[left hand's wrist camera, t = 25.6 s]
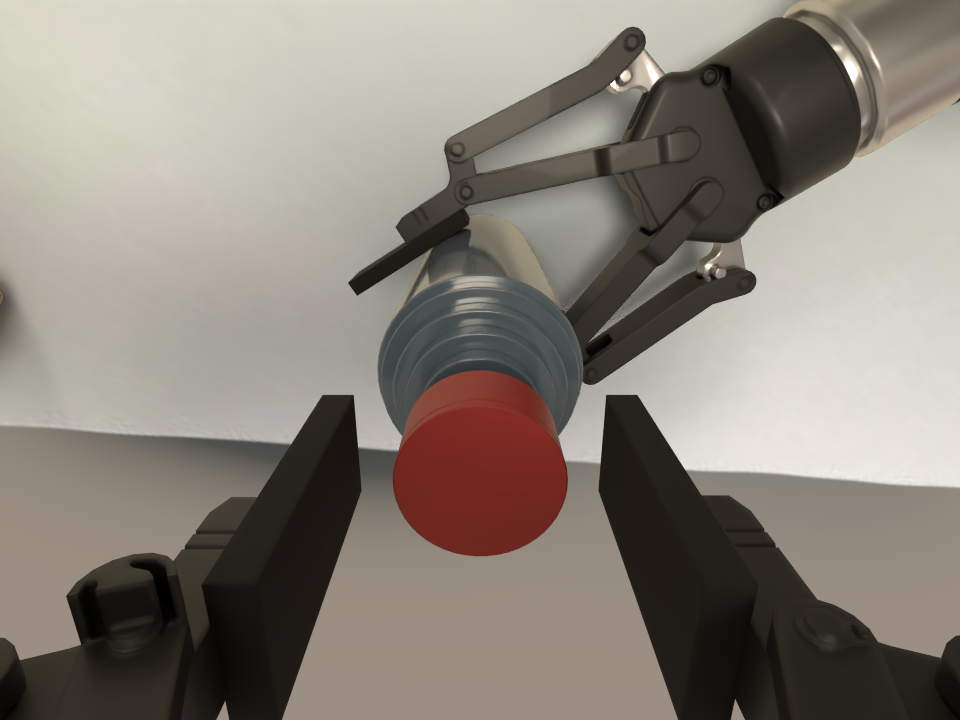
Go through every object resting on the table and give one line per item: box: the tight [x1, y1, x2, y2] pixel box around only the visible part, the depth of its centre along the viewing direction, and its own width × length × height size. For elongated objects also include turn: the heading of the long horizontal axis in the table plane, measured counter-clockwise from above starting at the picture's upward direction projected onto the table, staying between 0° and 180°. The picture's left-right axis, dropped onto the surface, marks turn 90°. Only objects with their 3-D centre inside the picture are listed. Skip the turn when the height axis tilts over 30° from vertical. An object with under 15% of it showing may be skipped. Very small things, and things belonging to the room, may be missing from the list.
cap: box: [393, 370, 568, 556], centre depth 14 cm, size 4×4×2 cm
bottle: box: [378, 214, 583, 436], centre depth 24 cm, size 7×7×23 cm
